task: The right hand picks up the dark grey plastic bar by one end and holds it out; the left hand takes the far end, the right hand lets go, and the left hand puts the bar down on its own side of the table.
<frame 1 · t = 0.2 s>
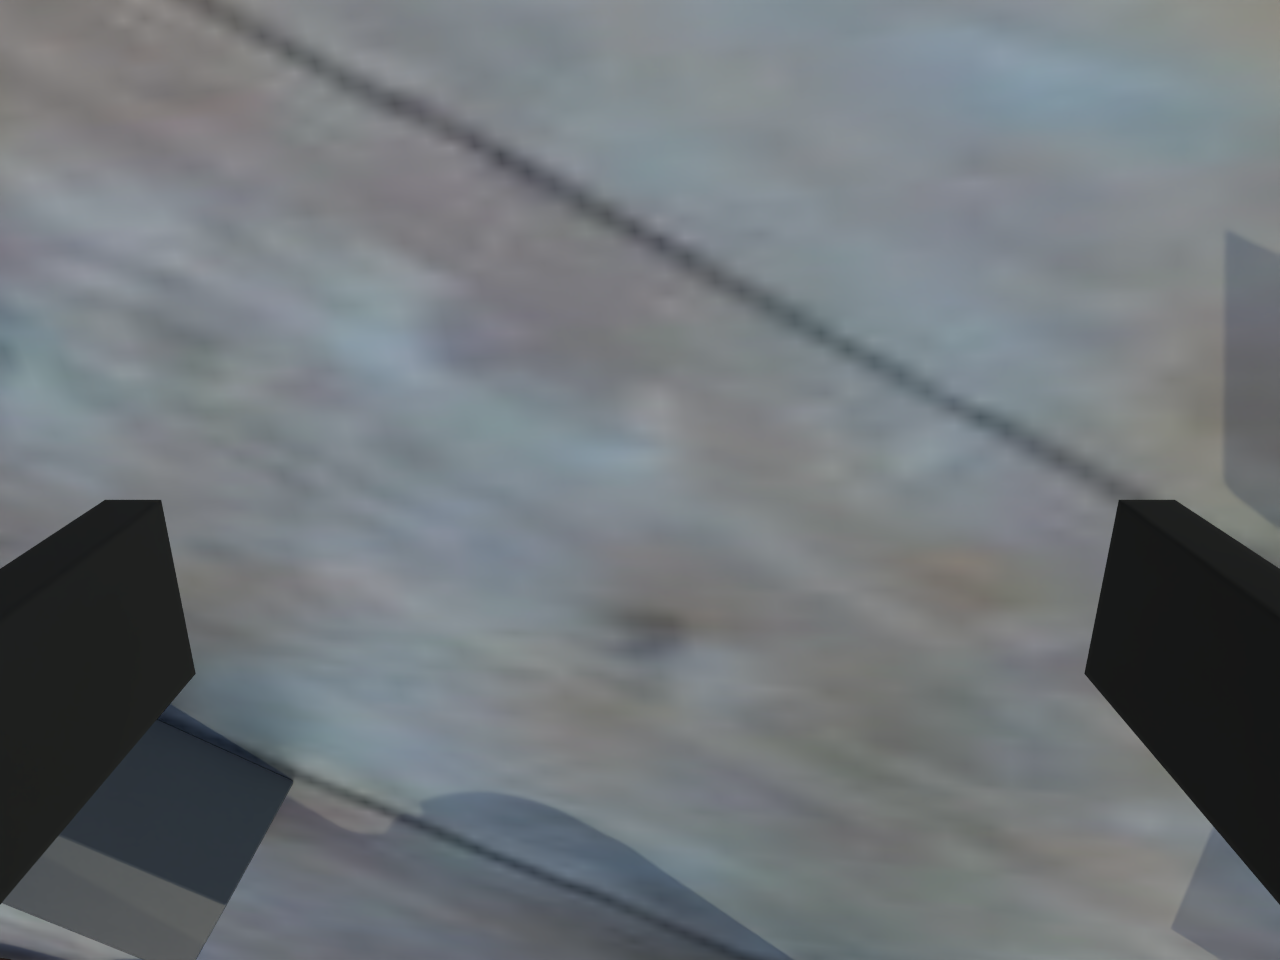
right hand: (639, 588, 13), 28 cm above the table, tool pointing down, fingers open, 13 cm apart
bar: (54, 715, 46), on the table
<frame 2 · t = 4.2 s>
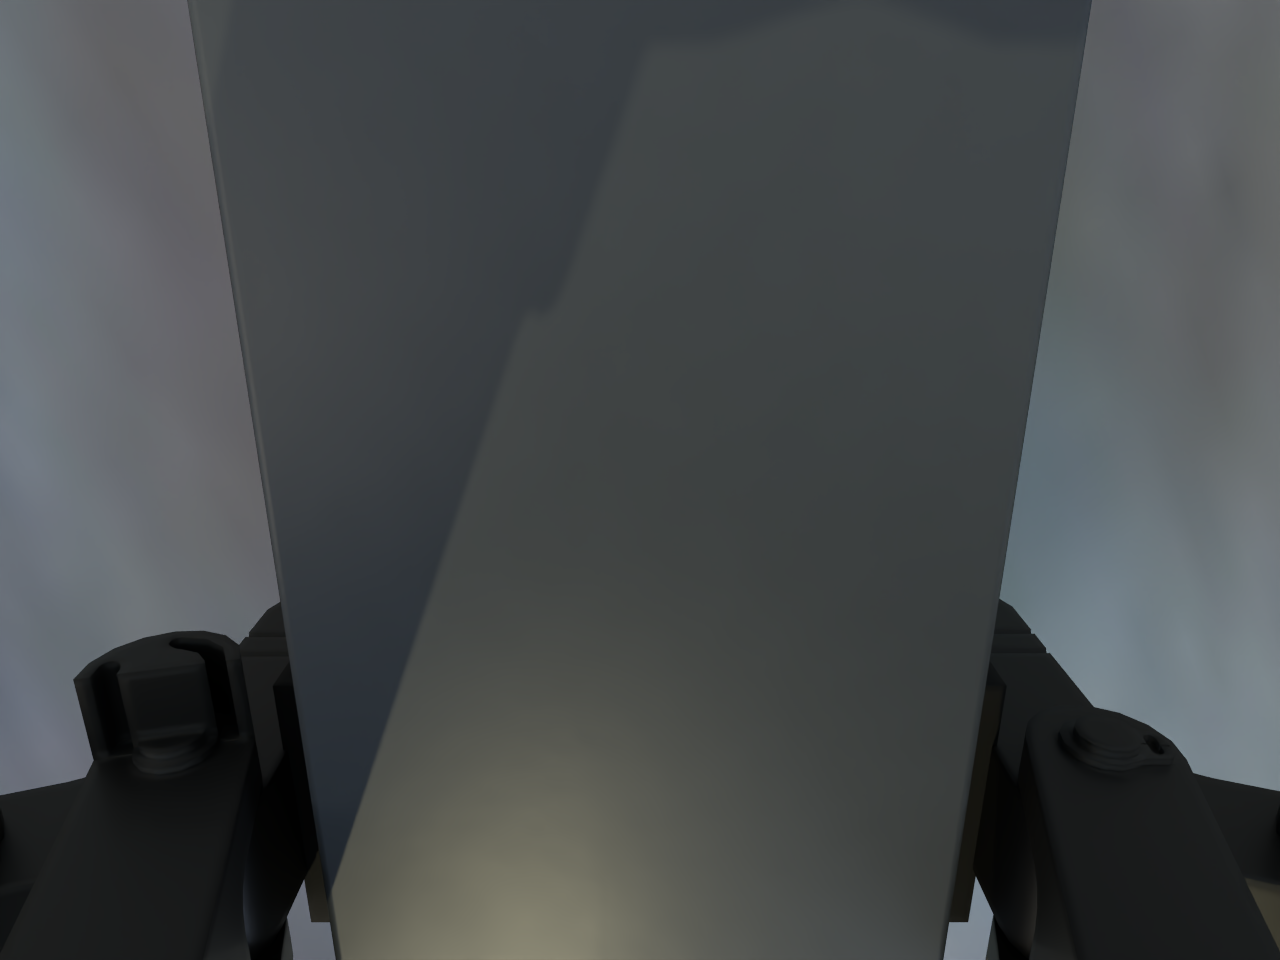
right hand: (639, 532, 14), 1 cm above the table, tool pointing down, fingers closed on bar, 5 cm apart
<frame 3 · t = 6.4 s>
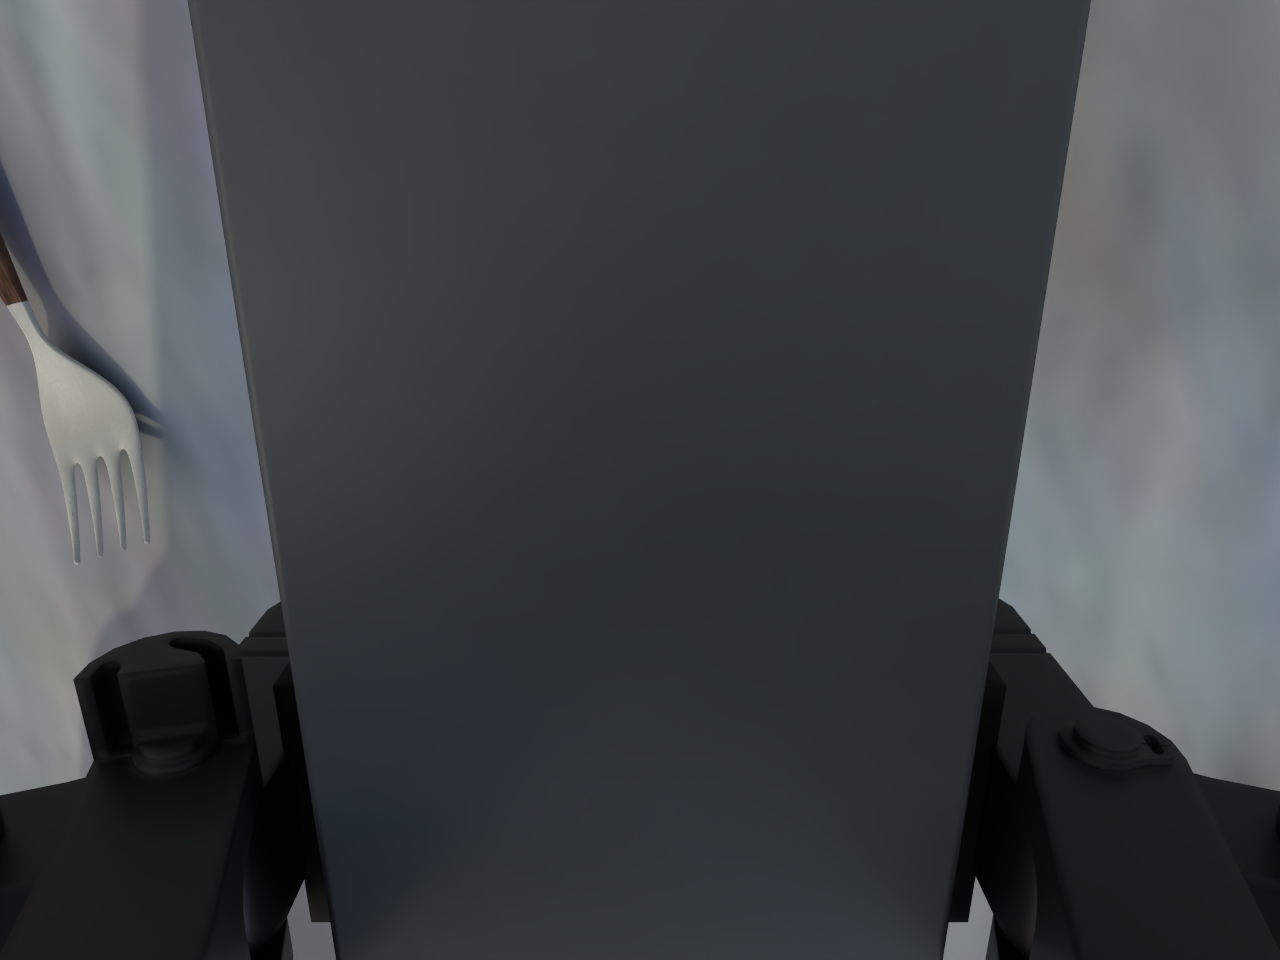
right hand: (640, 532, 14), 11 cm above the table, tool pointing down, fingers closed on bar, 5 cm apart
fork: (11, 257, 24), on the table
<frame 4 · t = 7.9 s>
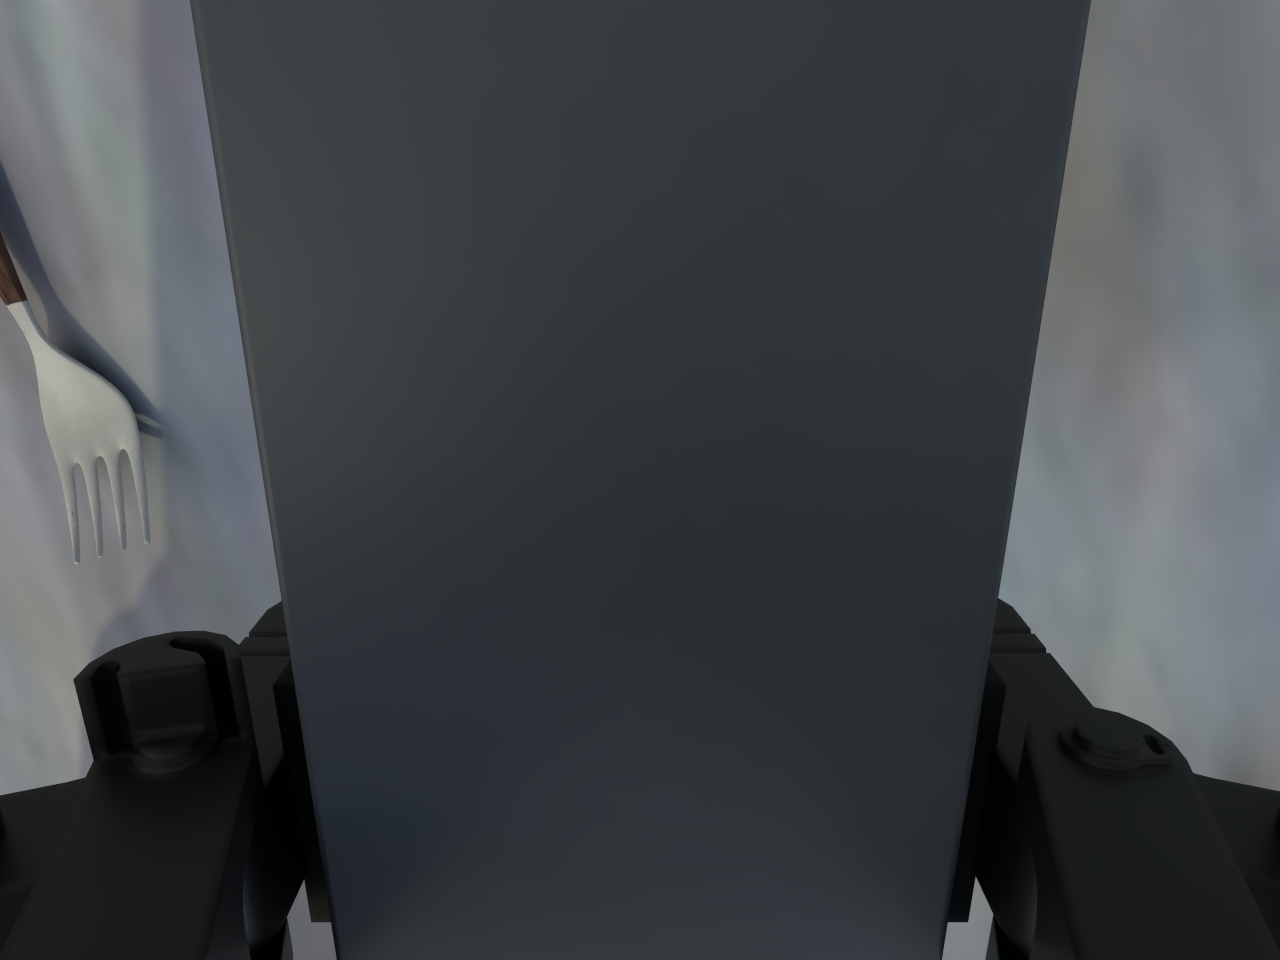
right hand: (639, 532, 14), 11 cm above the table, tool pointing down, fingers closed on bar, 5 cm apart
fork: (11, 257, 24), on the table
when the right hand's fingers open (11 cm above the table, at t = 8.9 s): bar stays where it is, held by the left hand.
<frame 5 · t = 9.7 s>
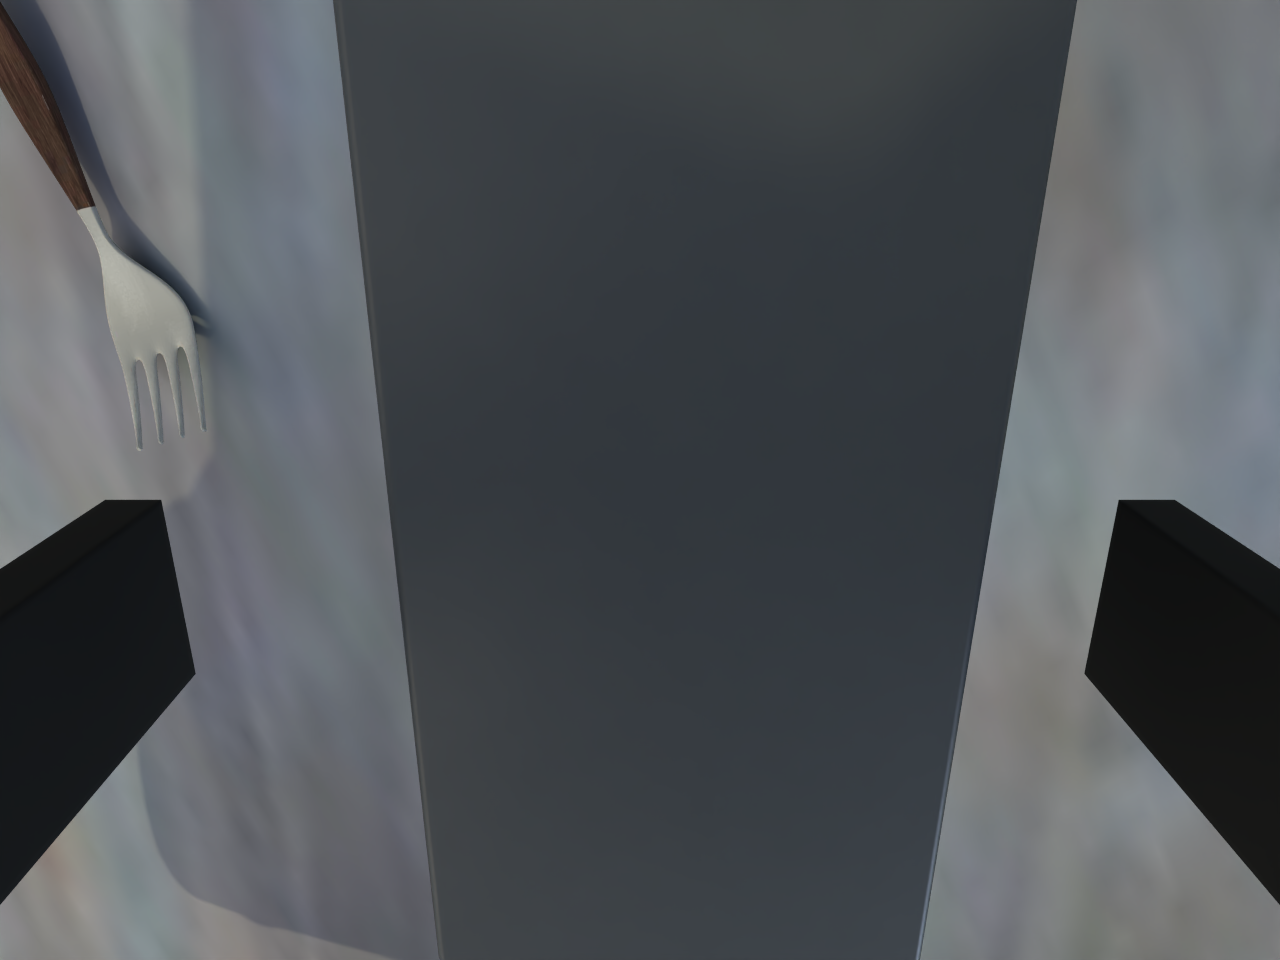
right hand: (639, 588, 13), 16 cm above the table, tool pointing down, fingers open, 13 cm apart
fork: (80, 167, 26), on the table
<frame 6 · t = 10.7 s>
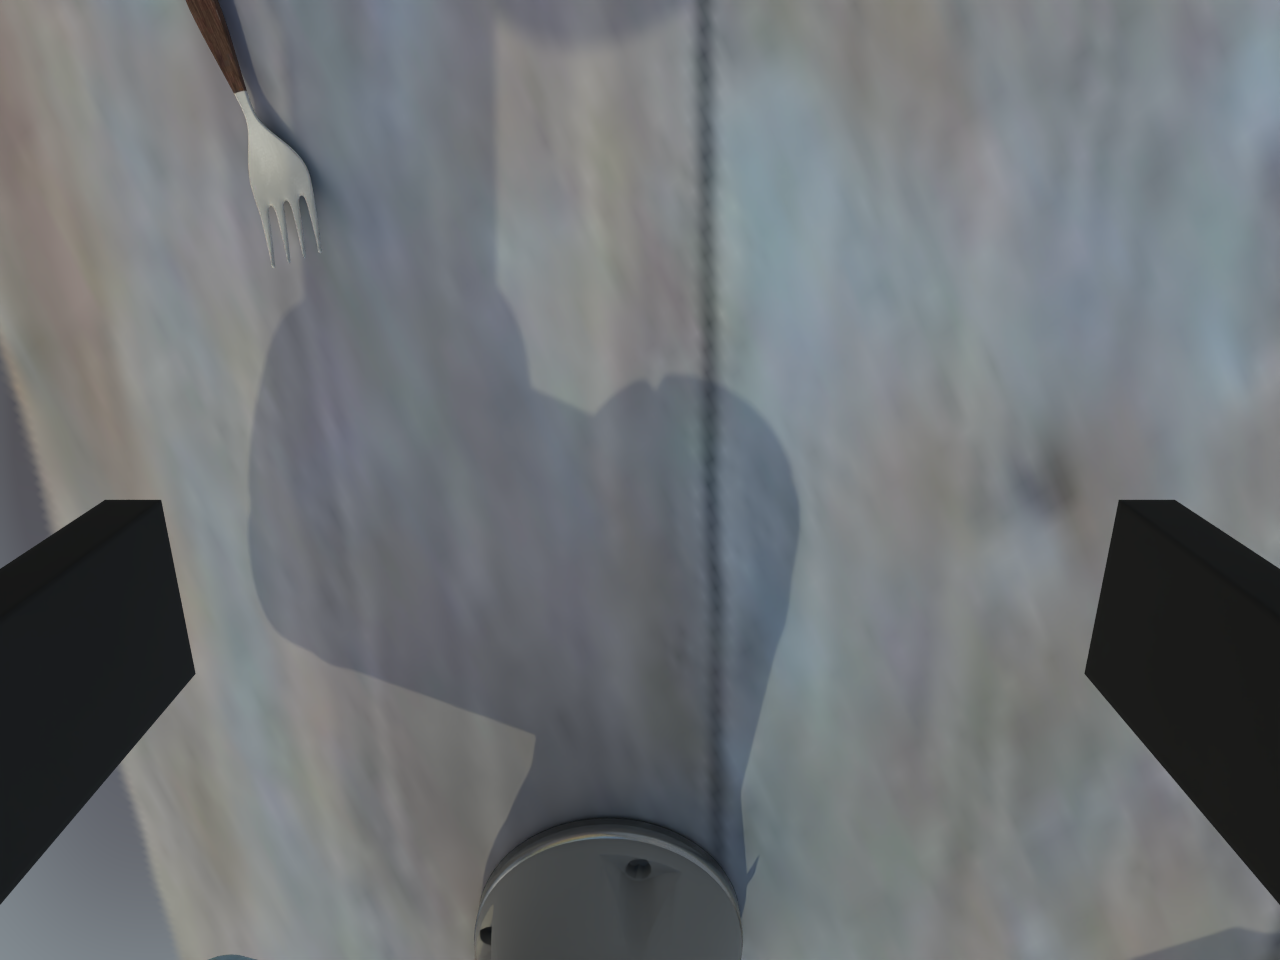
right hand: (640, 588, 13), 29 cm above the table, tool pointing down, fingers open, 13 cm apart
fork: (235, 64, 37), on the table
when the left hand's fingers open (4 cm above the table, at t = 13.9 s): bar drops 1 cm, on the table.
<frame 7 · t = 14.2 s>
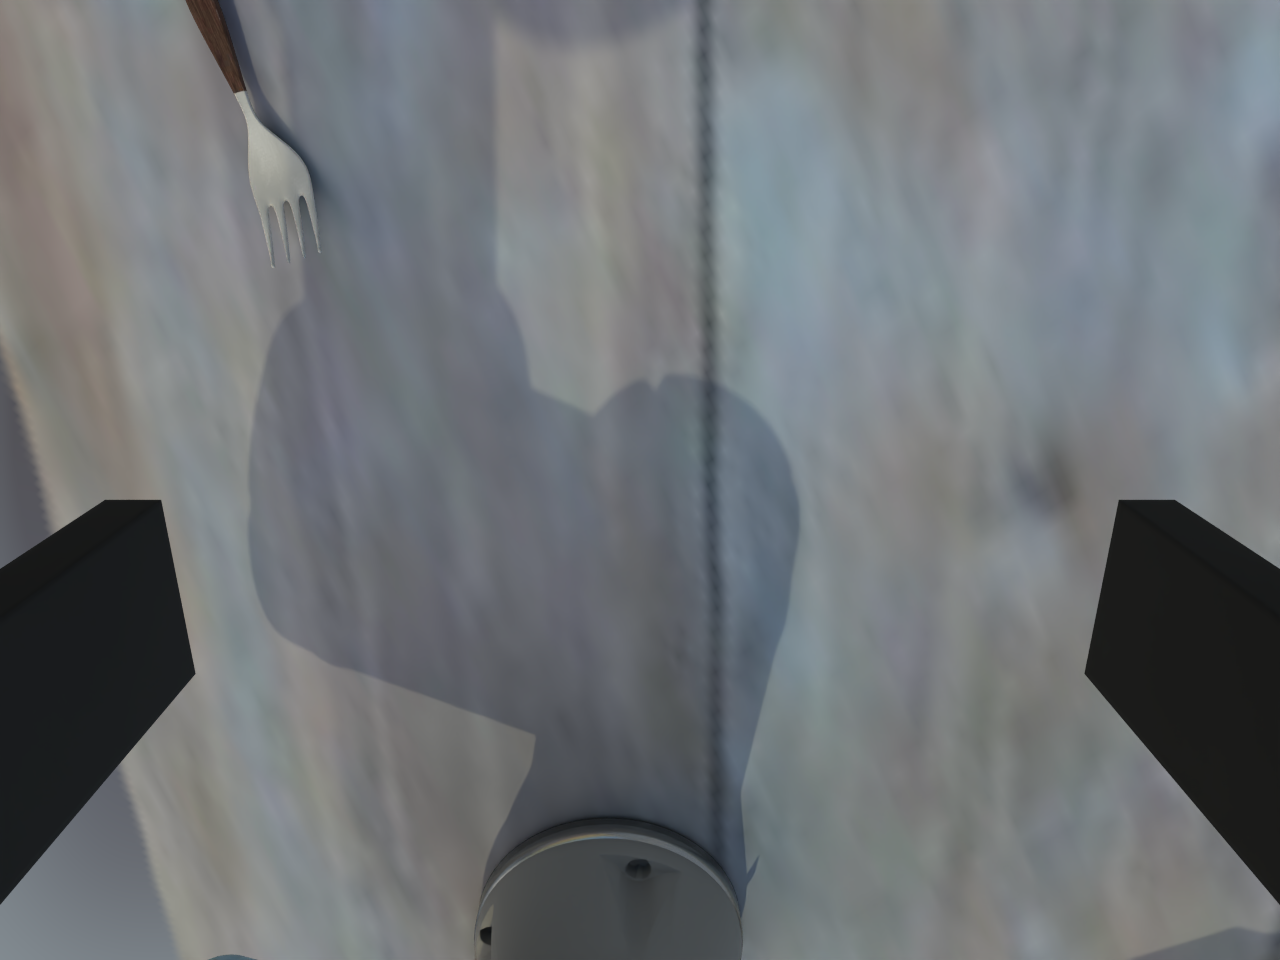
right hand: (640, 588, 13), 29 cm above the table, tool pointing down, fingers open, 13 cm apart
fork: (235, 64, 37), on the table
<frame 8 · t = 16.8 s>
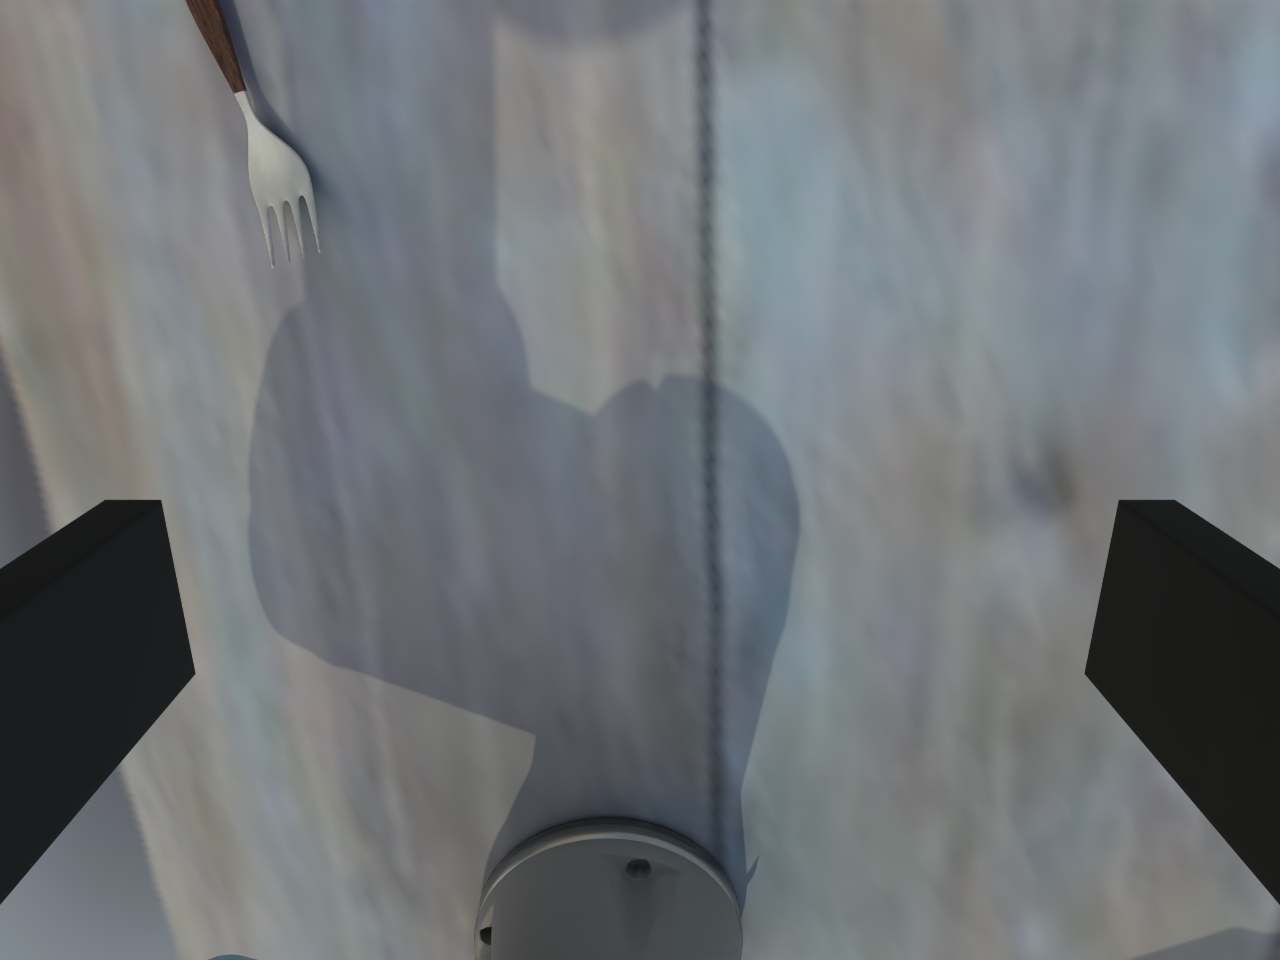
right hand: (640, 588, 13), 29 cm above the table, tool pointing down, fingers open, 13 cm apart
fork: (235, 64, 37), on the table
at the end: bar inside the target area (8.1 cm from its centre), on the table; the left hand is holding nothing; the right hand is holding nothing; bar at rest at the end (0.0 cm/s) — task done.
